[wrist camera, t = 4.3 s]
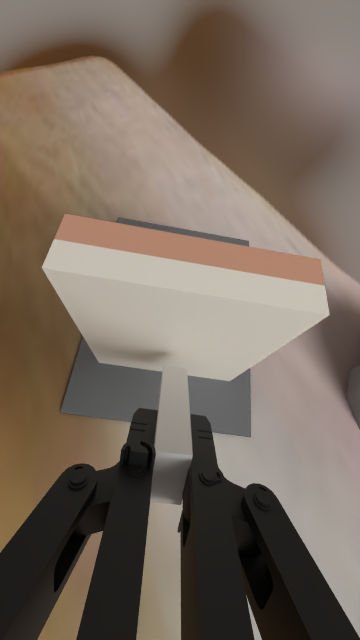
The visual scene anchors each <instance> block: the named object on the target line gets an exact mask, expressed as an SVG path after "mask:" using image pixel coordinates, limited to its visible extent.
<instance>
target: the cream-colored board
mask: <svg viewBox="0 0 360 640" xmlns="http://www.w3.org/2000/svg"><path fill="white" fill-rule="evenodd" d="M42 269H43V271H44V272H45V274H46V276H47V277H48V279H49V281H50V282H51V284H52V286H53V287H54V289H55V291H56V292H57V294H58V296H59V297H60V299H61V301H62V302H63V304H64V306H65V307H66V309H67V311H68V312H69V314H70V316H71V317H72V319H73V321H74V322H75V324H76V326H77V327H78V329H79V330H80V332H81V334H82V335H83V337H84V339H85V340H86V342H87V344H88V345H89V347H90V349H91V350H92V352H93V354H94V355H95V357H96V359H97V360H98V362H99V363H104V364H111V365H118V366H125V367H132V368H140V369H147V370H154V371H161V372H162V371H163V365H166V366H173V367H179V368H186V369H187V375H189V376H196V377H203V378H210V379H217V380H224V381H231V380H232V379H234V378H235V377H237V376H238V375H240V374H241V373H243V372H244V371H246V370H247V369H249V368H250V367H252V366H254V365H255V364H257V363H258V362H260V361H261V360H263V359H264V358H266V357H267V356H269V355H270V354H272V353H273V352H275V351H276V350H278V349H279V348H281V347H282V346H284V345H285V344H287V343H288V342H290V341H291V340H293V339H294V338H296V337H297V336H299V335H300V334H302V333H303V332H305V331H306V330H308V329H309V328H311V327H312V326H314V325H315V324H317V323H318V322H320V321H321V320H323V319H325V318H326V317H328V316H329V315H330V314H329V308H328V302H327V296H326V290H325V284H324V278H323V272H322V266H321V260H320V259H315V258H309V257H304V256H298V255H293V254H287V253H282V252H276V251H270V250H265V249H259V248H254V247H248V246H243V245H237V244H232V243H226V242H220V241H215V240H209V239H204V238H198V237H193V236H187V235H181V234H176V233H170V232H165V231H159V230H154V229H148V228H142V227H137V226H131V225H126V224H120V223H115V222H109V221H104V220H98V219H92V218H87V217H81V216H76V215H70V214H65V215H64V217H63V220H62V222H61V224H60V227H59V229H58V231H57V234H56V236H55V238H54V240H53V243H52V245H51V247H50V250H49V252H48V254H47V257H46V259H45V261H44V264H43V266H42Z"/></svg>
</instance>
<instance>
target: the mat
mask: <svg viewBox="0 0 360 640" xmlns="http://www.w3.org/2000/svg"><path fill="white" fill-rule="evenodd" d="M117 223H120V224H126V225H131V226H137V227H142V228H148V229H154V230H159V231H165V232H170V233H176V234H181V235H187V236H193V237H198V238H204V239H209V240H215V241H220V242H226V243H232V244H237V245H243V246H248V247H249V241H245V240H240V239H234V238H229V237H223V236H218V235H212V234H207V233H201V232H196V231H190V230H185V229H179V228H174V227H168V226H163V225H157V224H152V223H146V222H141V221H135V220H129V219H124V218H118V221H117ZM187 376H188V391H189V406H190V414H194V415H202V416H206V417H207V419H208V420H209V422H210V423H211V429H212V432H214V433H222V434H230V435H238V436H246V437H251V398H250V368H249V369H247V370H246V371H244V372H243V373H241V374H240V375H238V376H237V377H235V378H234V379H232V380H231V381H224V380H217V379H210V378H203V377H196V376H189V375H187ZM161 377H162V372H161V371H154V370H147V369H140V368H132V367H125V366H118V365H111V364H104V363H99V362H98V360H97V359H96V357H95V355H94V354H93V352H92V350H91V349H90V347H89V345H88V344H87V342H86V340H85V339H84V337H83V338H82V341H81V344H80V348H79V351H78V354H77V358H76V361H75V364H74V368H73V371H72V374H71V378H70V381H69V384H68V388H67V391H66V394H65V398H64V401H63V404H62V408H61V411H60V413H64V414H72V415H80V416H88V417H96V418H104V419H112V420H120V421H127V422H132V418H133V414H134V413H135V412H136V411H137V409H138V408H145V409H152V410H156V409H157V401H158V395H159V389H160V383H161Z"/></svg>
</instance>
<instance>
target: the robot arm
mask: <svg viewBox="0 0 360 640" xmlns="http://www.w3.org/2000/svg"><path fill="white" fill-rule="evenodd" d="M182 498H183V510H182V514H181V518H180V522H179V526H178V532H179V533H180V531H181V640H254V635H253V630H252V625H251V619H250V614H249V608H248V603H247V598H248V601H249V604H250V607H251V610H252V612H253V615H254V618H255V621H256V624H257V626H258V629H259V632H260V635H261V638H262V640H360V638H359V636H358V634H357V633H356V631H355V629H354V628H353V626H352V624H351V623H350V621H349V619H348V617H347V616H346V614H345V612H344V611H343V609H342V607H341V606H340V604H339V602H338V600H337V599H336V597H335V595H334V594H333V592H332V590H331V589H330V587H329V585H328V583H327V582H326V580H325V578H324V577H323V575H322V573H321V572H320V570H319V568H318V566H317V565H316V563H315V561H314V560H313V558H312V556H311V555H310V553H309V551H308V550H307V548H306V546H305V544H304V543H303V541H302V539H301V538H300V536H299V534H298V533H297V531H296V529H295V527H294V526H293V524H292V522H291V521H290V519H289V517H288V516H287V514H286V512H285V510H284V509H283V507H282V505H281V504H280V502H279V500H278V499H277V497H276V496H275V495H274V493H273V492H272V491H271V490H270V489H268V488H267V487H266V486H263V485H261V484H255V483H253V484H250V485H248V486H247V488H246V489H245V488H242V487H240V486H238V485H236V484H233V483H232V482H230V481H228V480H227V479H226V478H225V477H224V476H223V473H222V472H221V471H220V469H219V468H218V464H217V458H216V453H215V447H214V441H213V435H212V429H211V423H210V422H209V420H208V419H207V417H206V416H202V415H194V414H190V406H189V391H188V376H187V369H186V368H179V367H173V366H166V365H163V371H162V377H161V383H160V389H159V395H158V401H157V409H156V410H152V409H145V408H138V409H137V411H136V412H135V413H134V414H133V418H132V422H131V426H130V430H129V434H128V438H127V442H126V443H125V444H124V446H123V447H122V449H121V456H120V461H119V462H118V463H117V464H116V465H115V466H113V467H111V468H108V469H104V470H99V471H96V470H95V469H94V467H92V466H90V465H89V464H82V463H81V464H76V465H73V466H71V467H69V468H67V469H66V470H65V471H64V472H63V473H62V474H61V475H60V477H59V478H58V479H57V480H56V482H55V483H54V484H53V486H52V487H51V488H50V490H49V491H48V492H47V493H46V495H45V496H44V497H43V499H42V500H41V501H40V502H39V504H38V505H37V506H36V508H35V509H34V510H33V511H32V513H31V514H30V515H29V517H28V518H27V519H26V520H25V522H24V523H23V524H22V526H21V527H20V528H19V529H18V531H17V532H16V533H15V535H14V536H13V537H12V539H11V540H10V541H9V542H8V544H7V545H6V546H5V548H4V549H3V550H2V551H1V553H0V640H37V639H38V637H39V635H40V633H41V631H42V629H43V627H44V625H45V623H46V621H47V619H48V617H49V615H50V613H51V611H52V610H53V608H54V606H55V604H56V602H57V600H58V598H59V596H60V594H61V592H62V590H63V588H64V586H65V584H66V582H67V580H68V578H69V576H70V574H71V573H72V571H73V569H74V567H75V565H76V563H77V561H78V559H79V557H80V555H81V553H82V551H83V549H84V547H85V545H86V543H87V541H88V539H89V537H90V536H91V534H93V533H96V532H100V531H103V534H102V538H101V542H100V546H99V550H98V554H97V558H96V562H95V566H94V571H93V575H92V579H91V583H90V587H89V591H88V595H87V599H86V603H85V607H84V611H83V615H82V619H81V623H80V627H79V631H78V635H77V639H76V640H136V634H137V625H138V615H139V605H140V595H141V585H142V575H143V565H144V555H145V546H146V536H147V526H148V516H149V506H150V501H151V502H160V503H169V504H178V505H181V502H182ZM246 595H247V598H246Z"/></svg>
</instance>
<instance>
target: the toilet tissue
mask: <svg viewBox="0 0 360 640" xmlns="http://www.w3.org/2000/svg"><path fill="white" fill-rule="evenodd" d="M346 399H347V401H348V404H349V406H350V408H351V410H352V412H353V415H354V417H355V419H356V421H357V424H358V426H359V428H360V364H359V365H358V366H357V367H355V368H354V369H352V370H351V371H350V373H349V380H348V388H347V395H346Z"/></svg>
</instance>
